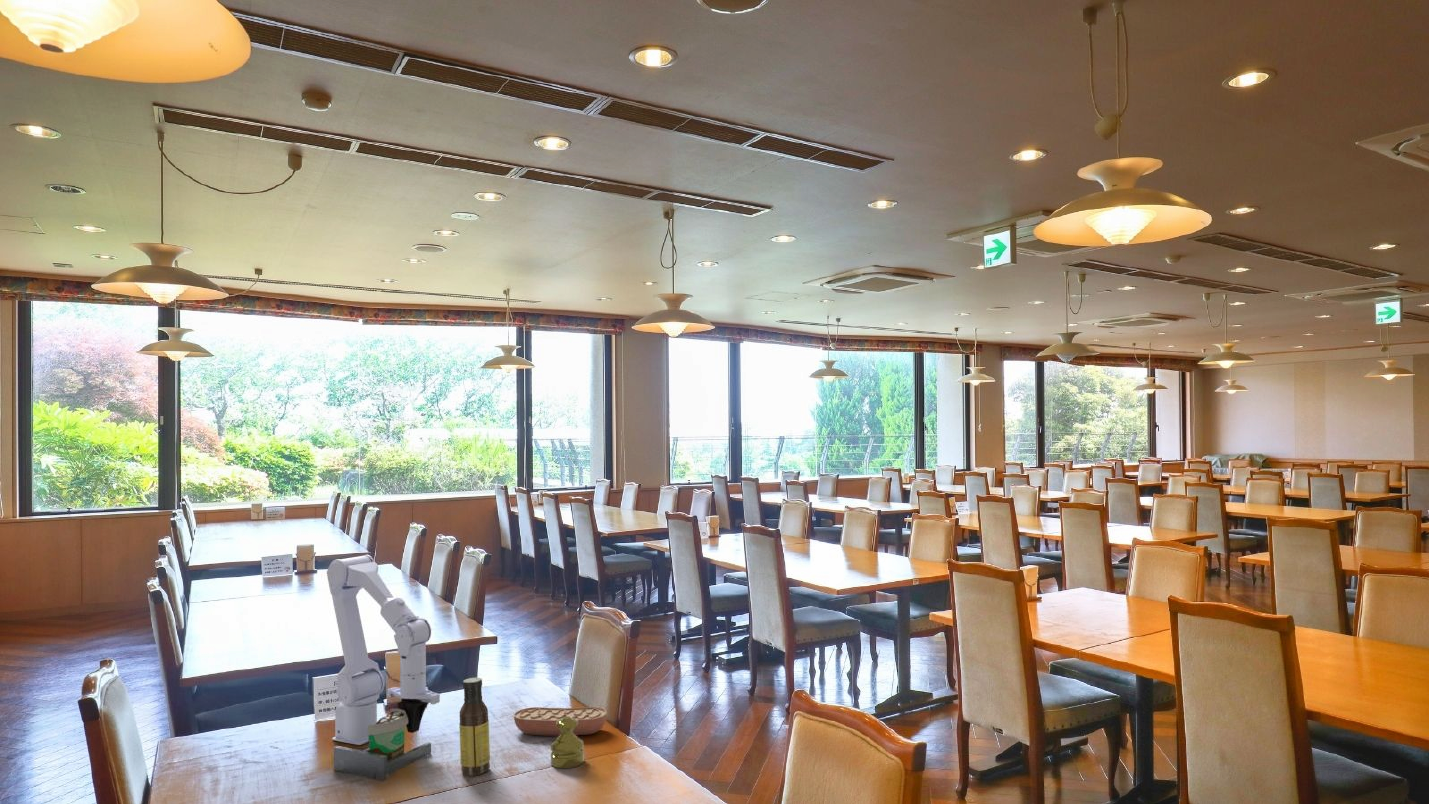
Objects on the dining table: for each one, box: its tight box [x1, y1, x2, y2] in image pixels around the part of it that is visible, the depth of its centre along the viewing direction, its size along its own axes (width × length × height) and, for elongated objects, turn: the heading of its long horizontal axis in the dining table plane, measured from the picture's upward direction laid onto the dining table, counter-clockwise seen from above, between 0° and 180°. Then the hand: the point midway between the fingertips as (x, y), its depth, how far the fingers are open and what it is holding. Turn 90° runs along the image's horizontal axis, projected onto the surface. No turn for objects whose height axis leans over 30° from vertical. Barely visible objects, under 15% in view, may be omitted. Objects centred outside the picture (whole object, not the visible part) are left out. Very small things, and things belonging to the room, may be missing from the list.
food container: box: [367, 707, 408, 761], centre depth 193 cm, size 12×6×10 cm, turn 176°
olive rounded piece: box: [550, 717, 585, 769], centre depth 191 cm, size 7×7×10 cm
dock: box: [333, 741, 432, 782], centre depth 192 cm, size 15×16×5 cm
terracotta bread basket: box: [513, 706, 608, 737], centre depth 210 cm, size 23×10×5 cm, turn 87°
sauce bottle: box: [458, 677, 491, 777], centre depth 187 cm, size 6×6×20 cm
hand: (413, 731), depth 200 cm, fingers closed
